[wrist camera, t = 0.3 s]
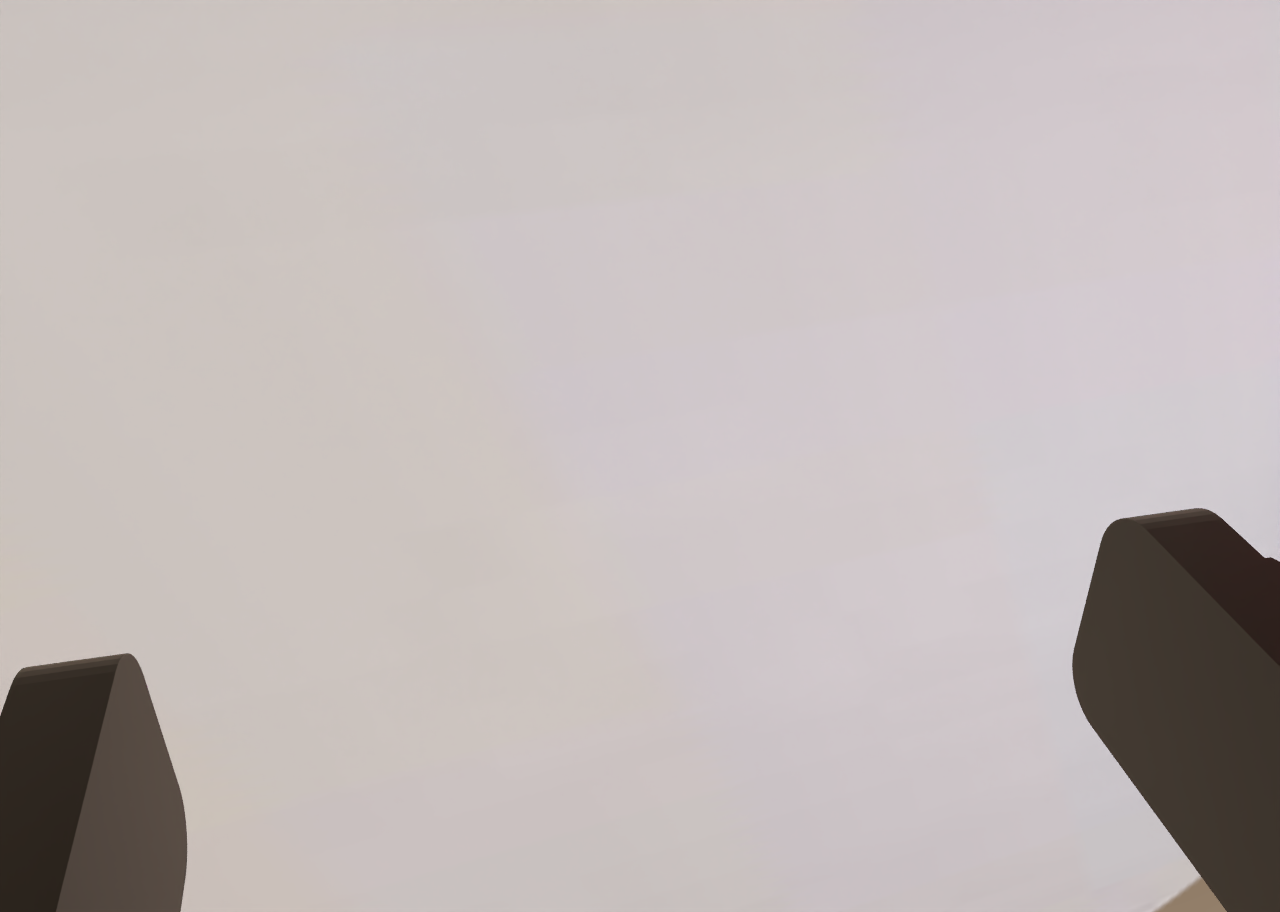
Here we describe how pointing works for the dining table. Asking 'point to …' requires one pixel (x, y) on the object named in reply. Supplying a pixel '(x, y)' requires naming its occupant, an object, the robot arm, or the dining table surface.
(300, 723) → the dining table surface
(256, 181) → the dining table surface
